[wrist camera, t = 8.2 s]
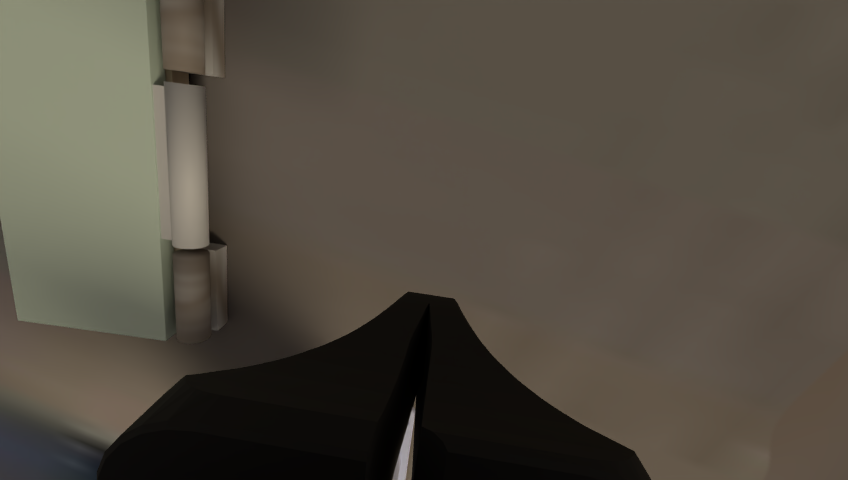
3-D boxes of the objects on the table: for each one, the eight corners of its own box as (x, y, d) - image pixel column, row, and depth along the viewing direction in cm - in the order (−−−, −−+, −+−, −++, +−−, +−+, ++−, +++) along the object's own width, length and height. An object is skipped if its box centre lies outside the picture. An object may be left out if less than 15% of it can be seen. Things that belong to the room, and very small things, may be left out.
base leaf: (227, 325, 24) (200, 349, 21) (39, 295, 24) (-10, 315, 22) (223, -37, 18) (186, -62, 16) (-16, -65, 19) (-88, -93, 16)
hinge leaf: (217, 333, 23) (201, 349, 21) (41, 309, 23) (12, 323, 21) (210, -46, 17) (187, -62, 16) (-18, -75, 18) (-62, -93, 16)
